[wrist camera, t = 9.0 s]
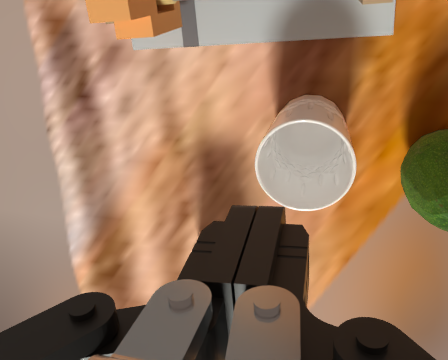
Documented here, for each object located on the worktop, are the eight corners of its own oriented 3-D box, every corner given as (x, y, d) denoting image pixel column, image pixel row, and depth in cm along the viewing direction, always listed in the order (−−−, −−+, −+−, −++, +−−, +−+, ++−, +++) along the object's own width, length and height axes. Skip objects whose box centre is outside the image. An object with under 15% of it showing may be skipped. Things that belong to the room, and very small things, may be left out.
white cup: (282, 78, 41) (269, 107, 32) (363, 100, 40) (372, 136, 32) (261, 151, 45) (244, 194, 36) (335, 173, 44) (336, 223, 35)
